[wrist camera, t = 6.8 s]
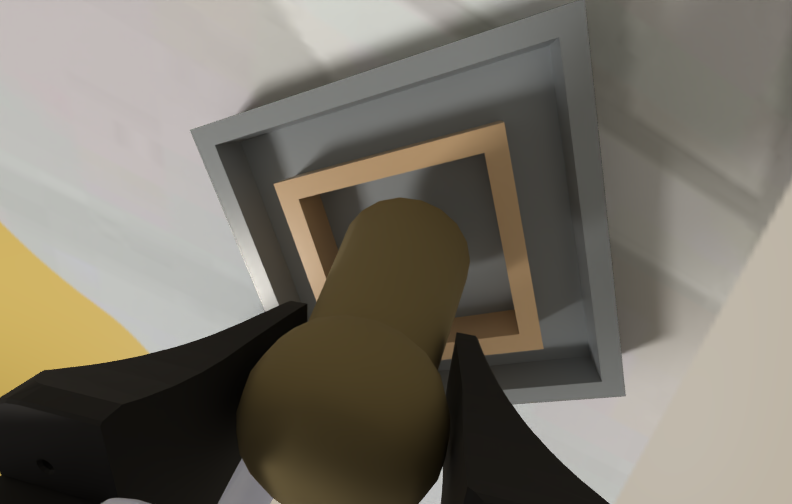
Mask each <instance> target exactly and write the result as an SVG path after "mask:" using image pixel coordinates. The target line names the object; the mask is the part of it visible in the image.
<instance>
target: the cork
mask: <svg viewBox="0 0 792 504" xmlns="http://www.w3.org/2000/svg"><path fill="white" fill-rule="evenodd" d="M469 264H470V257H469V251H468V245H467V241H466V239H465V237H464V236H463V234H462V232H461V230H460V228H459V227H458V225H457V224H456V223H455V222H454V221H453V220H452V219H451V218H450V217H449V216H448V215H447V214H446V213H444V212H443V211H442V210H441V209H439V208H437V207H435V206H433V205H431V204H428V203H426V202H424V201H422V200H416V199H408V198H401V197H399V198H394V199H388V200H382V201H379V202H377V203H375V204H373V205H371V206H369V207H368V208H366V209H364V210H362V211H361V212H360V213H359V215H358V216H357V217H356V218H355V219H354V220H353V221H352V222H351V224H350V225H349V227H348V230H347V232H346V234H345V237H344V239H343V241H342V244H341V246H340V248H339V251H338V253H337V255H336V258H335V260H334V262H333V265H332V267H331V269H330V272H329V274H328V276H327V279H326V281H325V283H324V286H323V288H322V290H321V293H320V295H319V297H318V300H317V302H316V304H315V307H314V309H313V311H312V314H311V316H310V318H309V321H308V322H306V323H304V324H302V325H299V326H297V327H295V328H293V329H292V330H290V331H289V332H287V333H286V334H285V335H283V336H282V337H280V338H279V339H278V340H277V341H276V342H275V343H274V344H273V345H272V346H271V347H270V349H269V350H268V351H267V352H266V353H265V354H264V355H263V356H262V357H261V359H260V360H259V361H258V362H257V364H256V365H255V366H254V368H253V369H252V370H251V371H250V374H249V377H248V379H247V382H246V384H245V387H244V390H243V393H242V396H241V399H240V402H239V405H238V409H237V412H236V433H237V441H238V448H239V454H240V455H241V457H242V459H243V461H244V463H245V465H246V467H247V469H248V471H249V473H250V474H251V475H252V476H253V477H254V479H255V480H256V481H257V482H258V483H259V484H260V485H261V486H262V487H263V488H264V489H265V491H266V492H267V493H268V494H269V495H270V496H271V497H272V498H274V499H275V500H277V501H278V502H279V503H281V504H419V502H420V501H421V500H422V499H423V498H424V497H425V495H426V494H427V493H428V492H429V490H430V489H431V488H432V487H433V485H434V484H435V483H436V481H437V480H438V478H439V475H440V472H441V469H442V467H443V464H444V461H445V457H446V452H447V447H448V442H449V437H450V413H449V408H448V404H447V400H446V395H445V391H444V387H443V383H442V379H441V375H440V373H439V372H438V368H439V365H440V362H441V359H442V356H443V352H444V349H445V346H446V343H447V340H448V337H449V334H450V330H451V327H452V324H453V321H454V318H455V315H456V311H457V308H458V305H459V302H460V299H461V296H462V293H463V289H464V286H465V283H466V280H467V275H468V270H469Z"/></svg>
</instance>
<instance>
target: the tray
mask: <svg viewBox="0 0 792 504" xmlns="http://www.w3.org/2000/svg"><path fill="white" fill-rule="evenodd" d="M190 131H191V134H192V136H193V139H194V141H195V143H196V146H197V148H198V151H199V153H200V155H201V158H202V160H203V163H204V165H205V168H206V170H207V172H208V175H209V177H210V180H211V182H212V184H213V187H214V189H215V192H216V194H217V196H218V199H219V201H220V204H221V206H222V208H223V211H224V213H225V216H226V218H227V221H228V223H229V225H230V228H231V230H232V233H233V235H234V237H235V240H236V242H237V245H238V247H239V249H240V252H241V254H242V257H243V259H244V262H245V264H246V266H247V269H248V271H249V274H250V276H251V278H252V281H253V283H254V286H255V288H256V290H257V293H258V295H259V298H260V300H261V303H262V305H263V307H264V310H265V312H266V311H268V310H270V309H272V308H275V307H277V306H279V305H281V304H283V303H286V302H289V301H295V302H301V303H306V304H307V322H308V321H309V318H310V316H311V314H312V311H313V309H314V307H315V304H316V302H317V300H318V297H319V295H320V293H321V290H322V288H323V286H324V283H325V281H326V279H327V276H328V274H329V272H330V269H331V267H332V265H333V262H334V260H335V258H336V255H337V253H338V251H339V248H340V246H341V244H342V241H343V239H344V237H345V234H346V232H347V230H348V227H349V225H350V224H351V222H352V221H353V220H354V219H355V218H356V217H357V216H358V215H359V213H360V212H361V211H362V210H364V209H366V208H368V207H369V206H371V205H373V204H375V203H377V202H379V201H382V200H388V199H394V198H399V197H401V198H408V199H416V200H422V201H424V202H426V203H428V204H431V205H433V206H435V207H437V208H439V209H441V210H442V211H443V212H444V213H446V214H447V215H448V216H449V217H450V218H451V219H452V220H453V221H454V222H455V223H456V224H457V225H458V227H459V228H460V230H461V232H462V234H463V236H464V237H465V239H466V241H467V245H468V251H469V257H470V264H469V270H468V275H467V280H466V283H465V286H464V289H463V293H462V296H461V299H460V302H459V305H458V308H457V311H456V315H455V318H454V321H453V324H452V327H451V330H450V334H449V337H448V340H447V343H446V346H445V349H444V352H443V356H442V359H441V362H440V365H439V368H438V372H439V373H440V375H441V379H442V383H443V387H444V391H445V395H446V389H447V382H448V376H449V371H450V365H451V360H452V355H453V349H454V344H455V338H456V333H457V332H458V333H464V334H469V335H474V336H476V337H477V338H478V340H479V343H480V346H481V348H482V351H483V353H484V355H485V358H486V360H487V362H488V364H489V366H490V368H491V370H492V372H493V374H494V376H495V377H496V379H497V381H498V383H499V385H500V386H501V388H502V390H503V391H504V393H505V395H506V396H507V398H508V399H509V401H510V402H511V404H525V403H538V402H552V401H566V400H580V399H594V398H608V397H621V396H626V394H625V385H624V375H623V365H622V355H621V346H620V336H619V326H618V317H617V307H616V297H615V287H614V278H613V268H612V258H611V249H610V239H609V229H608V219H607V210H606V200H605V190H604V181H603V171H602V161H601V151H600V142H599V132H598V122H597V113H596V103H595V93H594V83H593V74H592V64H591V54H590V44H589V35H588V25H587V15H586V6H585V0H578V1H575V2H572V3H569V4H566V5H563V6H560V7H557V8H554V9H551V10H548V11H545V12H542V13H539V14H536V15H533V16H530V17H527V18H524V19H521V20H518V21H515V22H512V23H509V24H506V25H503V26H500V27H497V28H494V29H491V30H488V31H485V32H482V33H479V34H476V35H473V36H470V37H467V38H464V39H461V40H458V41H455V42H452V43H449V44H446V45H443V46H440V47H437V48H434V49H431V50H428V51H425V52H422V53H419V54H416V55H413V56H410V57H407V58H404V59H401V60H398V61H395V62H392V63H389V64H386V65H383V66H380V67H377V68H374V69H371V70H368V71H365V72H362V73H359V74H356V75H353V76H350V77H347V78H344V79H341V80H338V81H335V82H332V83H329V84H326V85H323V86H320V87H317V88H314V89H311V90H308V91H305V92H302V93H299V94H296V95H293V96H290V97H287V98H284V99H281V100H278V101H275V102H272V103H269V104H266V105H263V106H260V107H257V108H254V109H251V110H249V111H246V112H243V113H240V114H237V115H234V116H231V117H228V118H225V119H222V120H219V121H216V122H213V123H210V124H207V125H204V126H201V127H198V128H195V129H192V130H190Z"/></svg>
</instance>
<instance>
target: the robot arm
mask: <svg viewBox="0 0 792 504" xmlns="http://www.w3.org/2000/svg"><path fill="white" fill-rule="evenodd" d="M306 322H307V304H306V303H301V302H295V301H289V302H286V303H283V304H281V305H279V306H277V307H275V308H272V309H270V310H268V311H266V312H264V313H262V314H260V315H257V316H255V317H253V318H251V319H249V320H246V321H244V322H242V323H240V324H237V325H235V326H233V327H230V328H228V329H225V330H223V331H220V332H218V333H216V334H213V335H211V336H208V337H205V338H202V339H199V340H196V341H193V342H190V343H187V344H184V345H181V346H177V347H174V348H170V349H166V350H162V351H158V352H154V353H151V354H147V355H143V356H138V357H133V358H128V359H123V360H118V361H112V362H107V363H101V364H94V365H87V366H78V367H70V368H62V369H54V370H44V371H42V372H40V373H39V374H37V375H35V376H34V377H32V378H31V379H29V380H27V381H26V382H24V383H23V384H21V385H19V386H18V387H16V388H15V389H13V390H11V391H10V392H9V393H7V394H5V395H3V396H2V397H1V398H0V473H1V476H0V504H270V503H271V501H272V499H273V498H272V497H271V496H270V495H269V494H268V493H267V492H266V491H265V489H264V488H263V487H262V486H261V485H260V484H259V483H258V482H257V481H256V480H255V479H254V477H253V476H252V475H251V474H250V473H249V471H248V469H247V467H246V465H245V463H244V461H243V459H242V457H241V455H240V454H239V448H238V441H237V433H236V412H237V409H238V405H239V402H240V399H241V396H242V393H243V390H244V387H245V384H246V382H247V379H248V377H249V374H250V371H251V370H252V369H253V368H254V366H255V365H256V364H257V362H258V361H259V360H260V359H261V357H262V356H263V355H264V354H265V353H266V352H267V351H268V350H269V349H270V347H271V346H272V345H273V344H274V343H275V342H276V341H277V340H278V339H279V338H280V337H282V336H283V335H285V334H286V333H287V332H289V331H290V330H292V329H293V328H295V327H297V326H299V325H302V324H304V323H306ZM446 400H447V404H448V408H449V413H450V437H449V442H448V447H447V452H446V457H445V461H444V464H443V484H442V498H441V504H609V503H608V502H607V501H606V500H605V499H603V498H602V497H601V496H600V495H598V494H597V493H596V492H595V491H594V490H592V489H591V488H590V487H589V486H587V485H586V484H585V483H584V482H583V481H581V480H580V479H579V478H578V477H577V476H576V475H575V474H574V473H573V472H571V471H570V470H569V469H568V468H567V467H566V466H565V465H564V464H563V463H562V462H561V461H560V460H559V459H558V458H557V457H556V456H555V455H554V454H553V453H552V452H551V451H550V450H549V449H548V448H547V447H546V446H545V445H544V444H543V443H542V442H541V440H540V439H539V438H538V437H537V436H536V435H535V434H534V433H533V432H532V430H531V429H530V428H529V427H528V426H527V424H526V423H525V422H524V420H523V419H522V418H521V417H520V415H519V414H518V412H517V411H516V410H515V408H514V407H513V405H512V404H511V402H510V401H509V399H508V398H507V396H506V395H505V393H504V391H503V390H502V388H501V386H500V385H499V383H498V381H497V379H496V377H495V376H494V374H493V372H492V370H491V368H490V366H489V364H488V362H487V360H486V358H485V355H484V353H483V351H482V348H481V346H480V343H479V340H478V338H477V337H476V336H474V335H469V334H464V333H458V332H457V333H456V338H455V344H454V349H453V355H452V360H451V365H450V371H449V376H448V382H447V389H446Z"/></svg>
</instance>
